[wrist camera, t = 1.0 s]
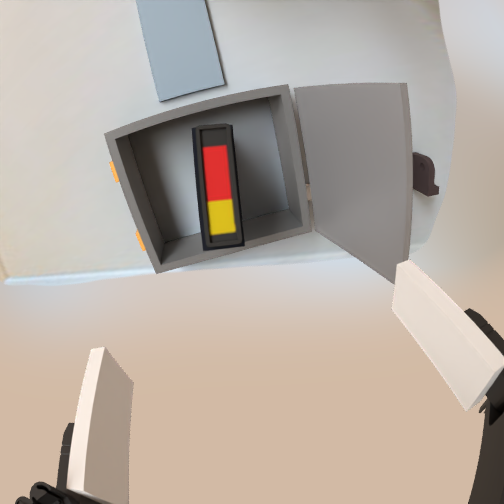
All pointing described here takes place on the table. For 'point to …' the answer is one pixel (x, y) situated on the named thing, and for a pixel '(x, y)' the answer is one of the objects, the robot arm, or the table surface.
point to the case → (254, 229)
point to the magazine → (217, 187)
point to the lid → (360, 168)
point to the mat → (179, 46)
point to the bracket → (424, 175)
